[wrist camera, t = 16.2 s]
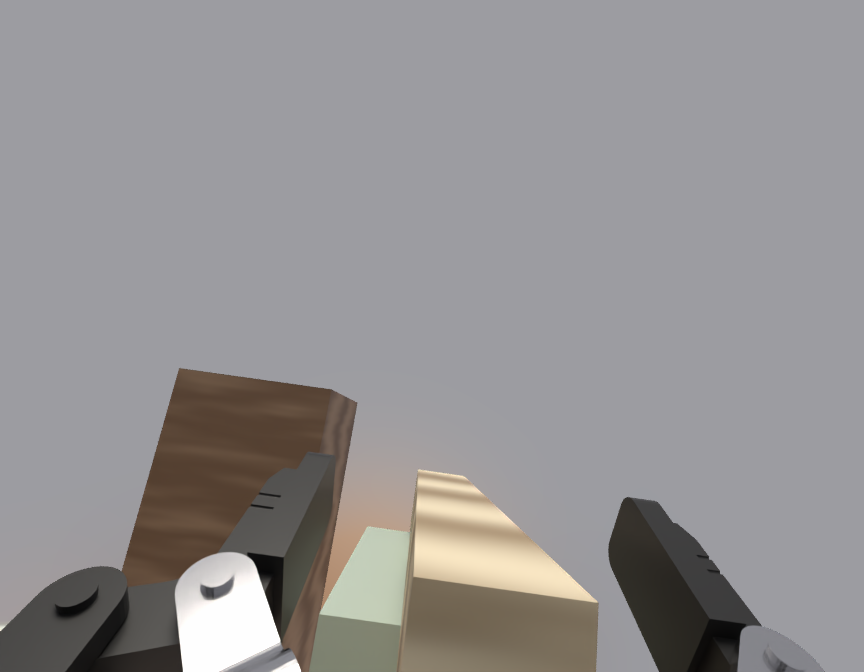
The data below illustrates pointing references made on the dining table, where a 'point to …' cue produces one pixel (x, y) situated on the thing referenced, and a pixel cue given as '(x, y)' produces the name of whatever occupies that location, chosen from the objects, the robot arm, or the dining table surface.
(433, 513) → the oak rod
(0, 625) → the dining table surface
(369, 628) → the sage pedestal
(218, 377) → the walnut pillar
